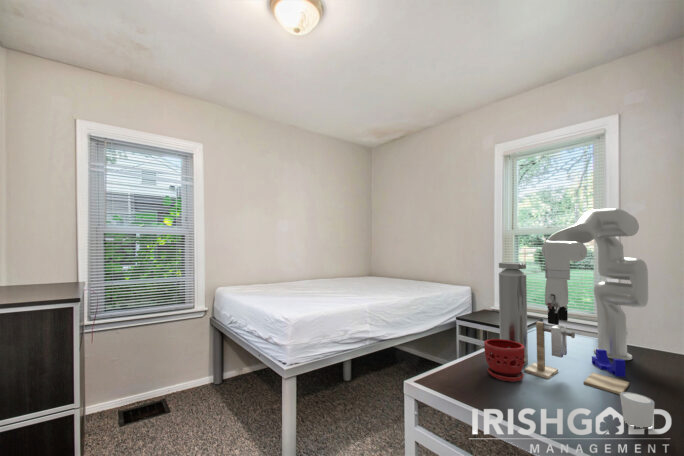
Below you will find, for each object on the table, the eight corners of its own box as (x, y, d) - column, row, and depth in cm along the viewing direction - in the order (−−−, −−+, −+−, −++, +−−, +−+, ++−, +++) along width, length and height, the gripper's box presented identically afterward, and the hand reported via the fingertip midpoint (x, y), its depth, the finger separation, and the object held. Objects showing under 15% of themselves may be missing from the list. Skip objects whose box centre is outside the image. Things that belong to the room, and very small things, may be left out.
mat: (592, 374, 116) (592, 372, 116) (629, 384, 108) (629, 382, 108) (583, 384, 108) (583, 381, 108) (622, 395, 100) (621, 392, 100)
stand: (534, 365, 124) (533, 318, 125) (579, 377, 113) (578, 325, 114) (524, 371, 118) (523, 322, 119) (570, 385, 107) (569, 330, 108)
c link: (557, 351, 117) (556, 324, 117) (566, 354, 115) (566, 326, 115) (551, 355, 113) (551, 327, 114) (561, 357, 111) (560, 329, 111)
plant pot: (529, 376, 114) (528, 342, 115) (519, 388, 105) (518, 351, 105) (491, 366, 123) (491, 335, 124) (479, 376, 114) (478, 343, 114)
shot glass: (613, 417, 87) (613, 392, 88) (636, 416, 88) (635, 391, 88) (639, 432, 81) (638, 404, 81) (663, 431, 81) (662, 403, 82)
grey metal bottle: (527, 368, 122) (525, 264, 123) (498, 362, 127) (497, 263, 129) (528, 359, 130) (526, 263, 132) (501, 354, 136) (499, 262, 137)
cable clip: (591, 363, 127) (591, 348, 127) (604, 364, 126) (604, 349, 126) (611, 376, 115) (611, 359, 115) (625, 377, 114) (625, 360, 114)
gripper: (553, 273, 123) (554, 317, 122) (537, 275, 112) (537, 323, 112) (576, 274, 118) (577, 321, 117) (561, 277, 107) (562, 328, 106)
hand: (557, 322), depth 114 cm, fingers open, 9 cm apart
